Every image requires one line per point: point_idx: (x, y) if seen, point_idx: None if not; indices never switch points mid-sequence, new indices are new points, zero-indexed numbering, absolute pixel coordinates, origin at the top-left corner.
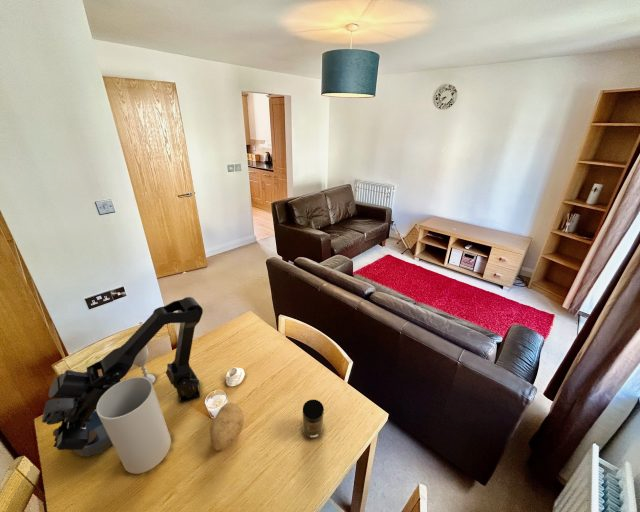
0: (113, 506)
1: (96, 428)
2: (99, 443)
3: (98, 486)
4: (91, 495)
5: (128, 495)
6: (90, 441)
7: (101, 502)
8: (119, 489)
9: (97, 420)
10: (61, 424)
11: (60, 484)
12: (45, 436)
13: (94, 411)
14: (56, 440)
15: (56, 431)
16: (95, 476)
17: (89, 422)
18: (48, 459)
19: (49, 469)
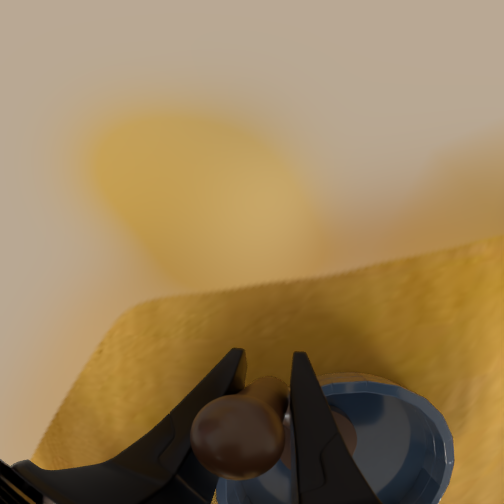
0: (50, 423)
1: (373, 455)
2: (217, 490)
3: (107, 419)
4: (94, 397)
5: (56, 454)
6: (282, 455)
7: (67, 409)
8: (75, 449)
9: (416, 453)
10: (327, 472)
11: (186, 326)
12: (464, 254)
13: (448, 470)
14: (221, 387)
15: (197, 448)
16: (142, 423)
17: (426, 429)
18: (343, 279)
19: (286, 287)
